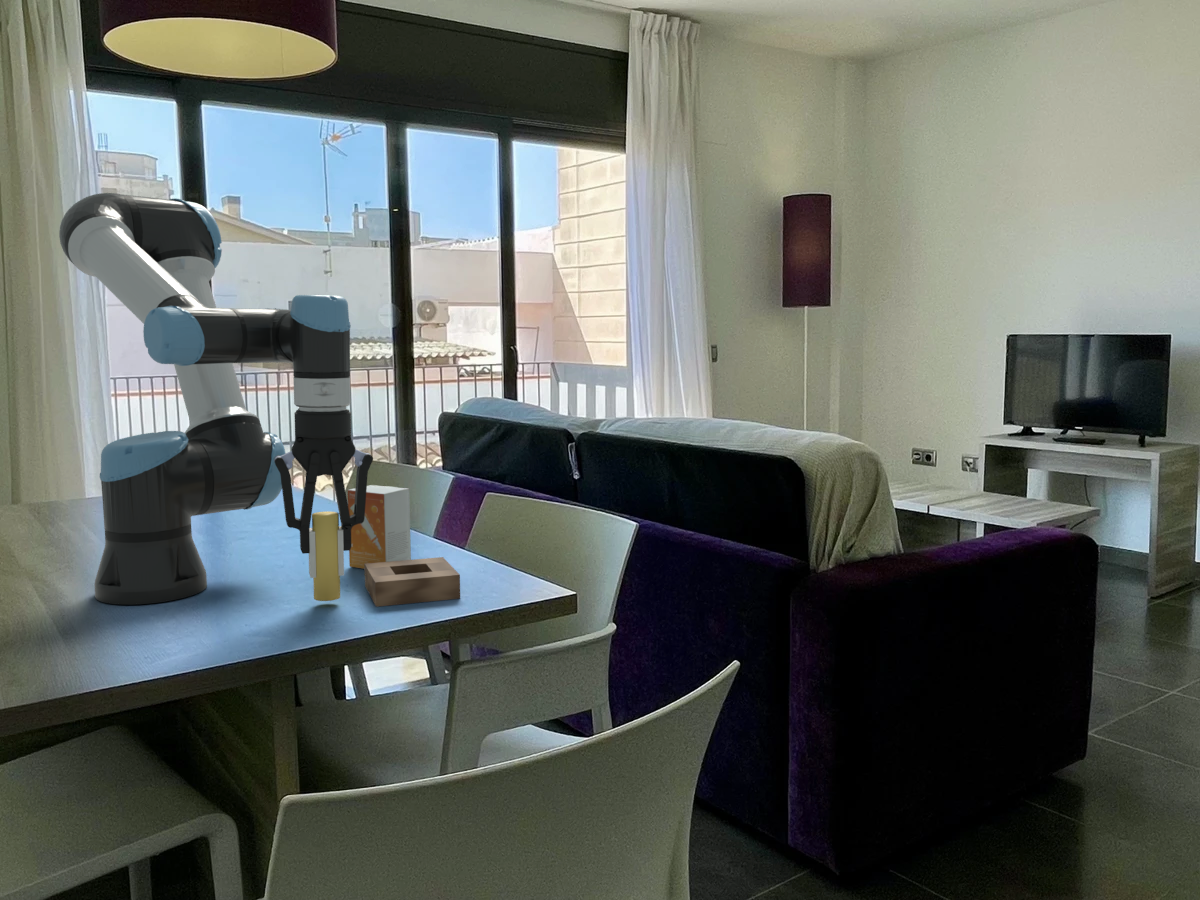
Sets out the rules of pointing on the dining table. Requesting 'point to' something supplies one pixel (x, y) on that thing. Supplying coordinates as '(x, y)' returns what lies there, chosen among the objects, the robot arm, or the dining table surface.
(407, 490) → the small box
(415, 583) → the socket block
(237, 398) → the robot arm
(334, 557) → the peg
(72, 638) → the dining table surface
